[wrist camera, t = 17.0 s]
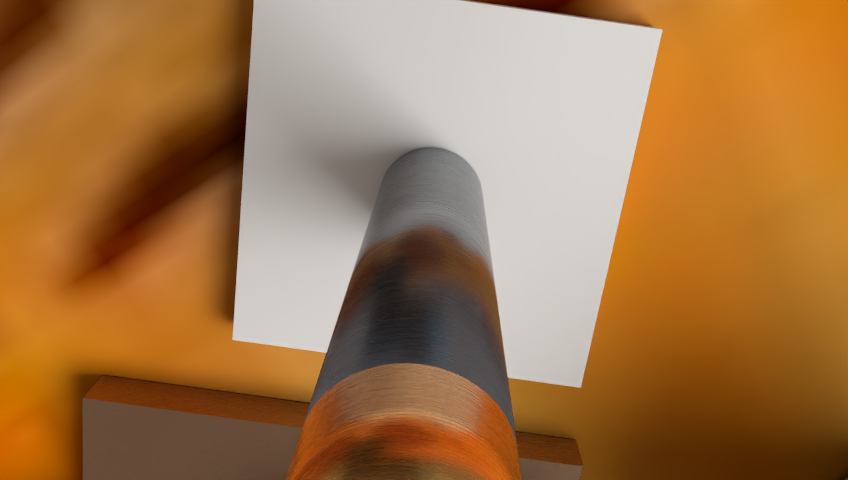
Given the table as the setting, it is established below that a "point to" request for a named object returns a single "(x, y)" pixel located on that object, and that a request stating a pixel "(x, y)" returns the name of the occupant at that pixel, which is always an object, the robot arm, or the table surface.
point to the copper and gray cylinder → (416, 342)
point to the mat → (443, 128)
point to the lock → (229, 436)
